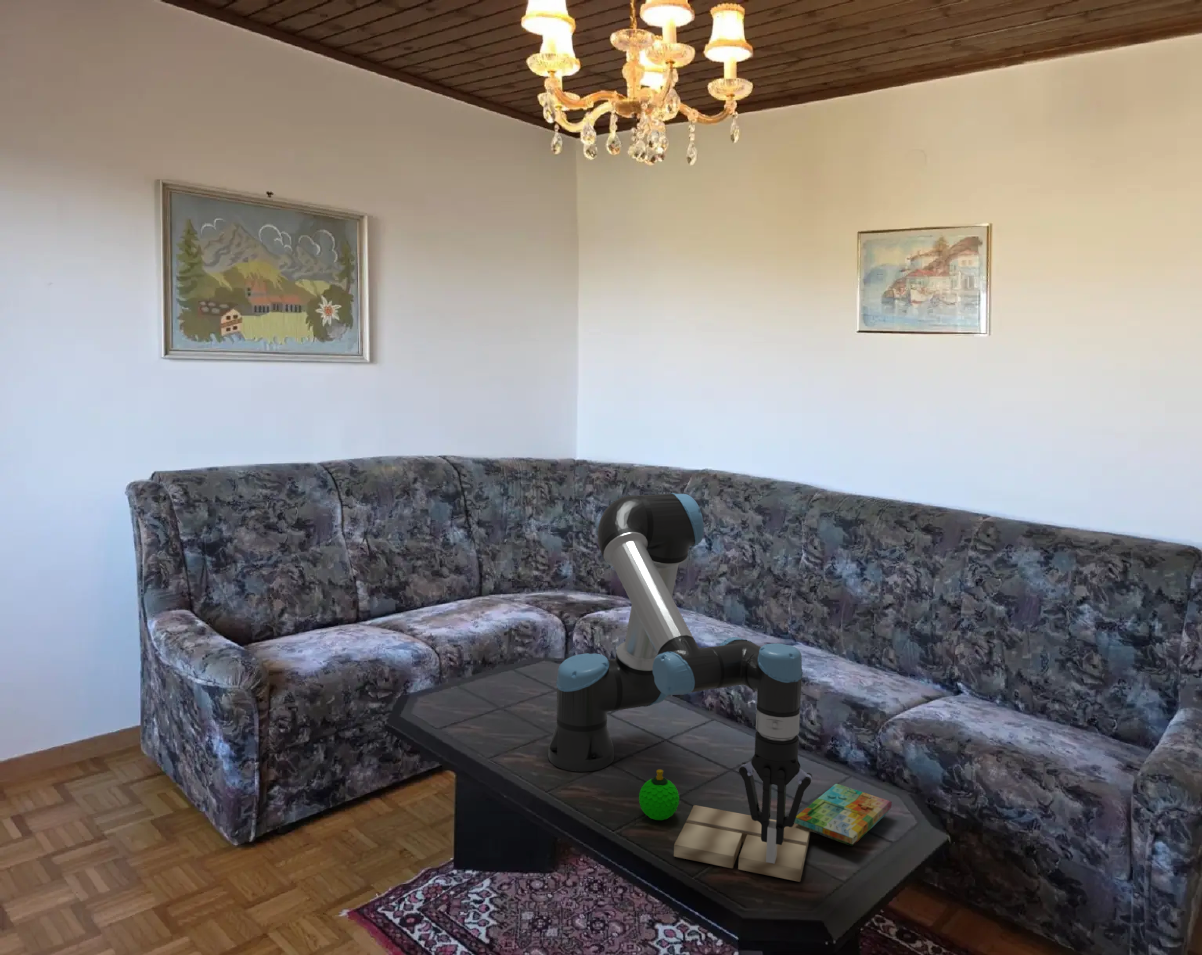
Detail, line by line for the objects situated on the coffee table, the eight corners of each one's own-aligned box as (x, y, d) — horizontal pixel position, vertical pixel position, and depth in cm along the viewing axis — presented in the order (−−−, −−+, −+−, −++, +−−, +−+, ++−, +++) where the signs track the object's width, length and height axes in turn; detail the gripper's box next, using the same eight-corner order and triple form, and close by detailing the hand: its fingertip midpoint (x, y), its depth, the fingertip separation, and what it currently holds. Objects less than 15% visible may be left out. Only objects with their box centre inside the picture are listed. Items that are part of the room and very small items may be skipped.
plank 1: (673, 856, 163) (674, 844, 163) (685, 833, 172) (685, 822, 172) (732, 868, 160) (733, 856, 160) (741, 844, 168) (741, 833, 168)
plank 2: (738, 868, 159) (738, 856, 159) (746, 845, 168) (747, 834, 168) (800, 881, 156) (800, 869, 156) (805, 857, 164) (806, 845, 164)
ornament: (638, 807, 182) (639, 761, 181) (677, 808, 182) (679, 762, 180) (638, 827, 174) (639, 779, 173) (679, 829, 174) (681, 781, 172)
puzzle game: (892, 796, 179) (852, 833, 163) (890, 819, 179) (850, 857, 164) (837, 779, 186) (794, 812, 170) (835, 800, 187) (793, 835, 171)
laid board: (685, 833, 172) (686, 821, 172) (693, 815, 179) (694, 804, 178) (805, 856, 165) (806, 844, 164) (809, 837, 171) (810, 825, 171)
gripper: (736, 735, 155) (731, 862, 157) (812, 746, 150) (806, 877, 153) (743, 719, 162) (739, 841, 164) (816, 730, 157) (810, 855, 160)
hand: (771, 858), depth 159 cm, fingers closed
